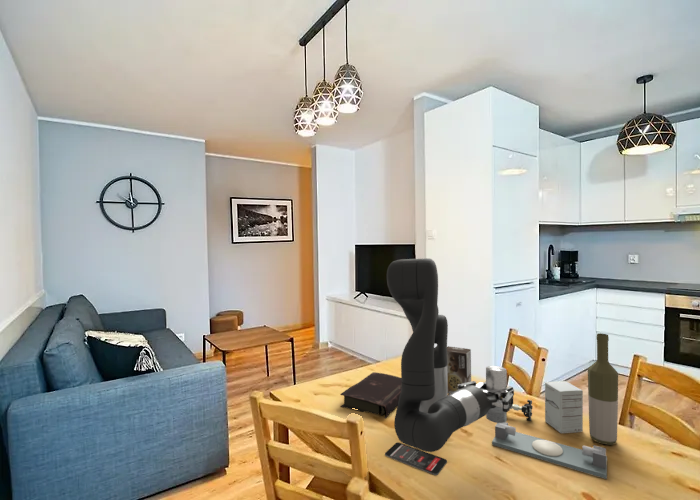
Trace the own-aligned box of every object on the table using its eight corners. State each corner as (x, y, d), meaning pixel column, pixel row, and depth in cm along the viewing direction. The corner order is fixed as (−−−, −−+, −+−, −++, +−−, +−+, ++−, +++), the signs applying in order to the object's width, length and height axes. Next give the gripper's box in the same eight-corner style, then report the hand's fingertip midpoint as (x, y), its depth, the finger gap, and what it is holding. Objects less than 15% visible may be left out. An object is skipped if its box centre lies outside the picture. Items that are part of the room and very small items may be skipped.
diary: (414, 392, 138) (414, 379, 138) (387, 421, 116) (387, 405, 116) (371, 382, 147) (371, 370, 147) (338, 407, 126) (338, 393, 126)
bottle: (609, 450, 97) (608, 339, 96) (582, 437, 103) (581, 333, 102) (624, 443, 100) (623, 335, 99) (597, 431, 106) (596, 330, 105)
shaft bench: (492, 444, 100) (492, 429, 100) (500, 430, 108) (499, 416, 107) (606, 479, 85) (606, 461, 85) (607, 460, 92) (606, 443, 92)
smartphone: (436, 474, 87) (383, 454, 96) (436, 477, 87) (383, 456, 96) (448, 459, 93) (397, 441, 102) (448, 462, 93) (397, 444, 102)
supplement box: (544, 421, 112) (543, 381, 112) (566, 420, 113) (566, 380, 113) (560, 434, 105) (559, 391, 105) (583, 432, 106) (583, 389, 106)
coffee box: (472, 391, 136) (471, 348, 136) (467, 397, 131) (467, 353, 130) (448, 386, 141) (447, 345, 141) (443, 392, 136) (442, 349, 135)
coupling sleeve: (483, 419, 94) (483, 370, 94) (488, 411, 98) (488, 364, 98) (504, 425, 91) (504, 374, 91) (508, 417, 95) (508, 368, 95)
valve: (488, 415, 117) (529, 425, 110) (488, 395, 117) (529, 404, 110) (493, 407, 123) (532, 416, 116) (493, 388, 123) (532, 396, 116)
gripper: (493, 400, 80) (528, 380, 90) (439, 381, 91) (477, 366, 102) (493, 433, 80) (528, 410, 91) (439, 411, 91) (477, 392, 102)
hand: (501, 387), depth 96 cm, fingers closed on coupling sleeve, 5 cm apart
